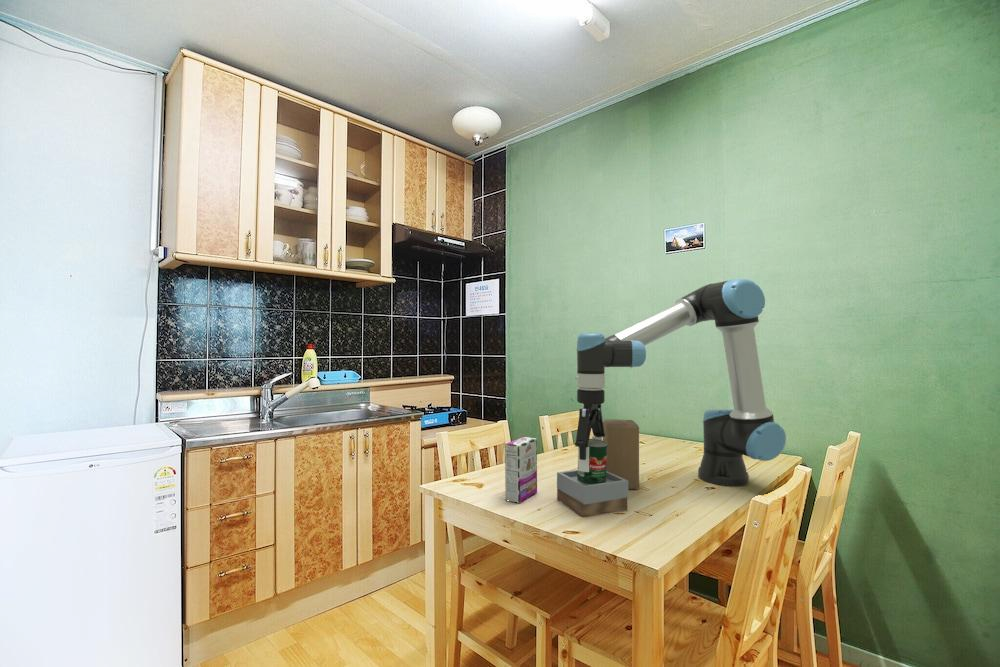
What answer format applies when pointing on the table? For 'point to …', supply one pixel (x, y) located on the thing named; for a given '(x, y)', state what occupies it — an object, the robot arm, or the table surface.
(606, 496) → the slate grey tray
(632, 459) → the block
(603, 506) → the walnut block
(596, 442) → the canned tomato
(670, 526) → the table surface
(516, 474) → the candy bar box
